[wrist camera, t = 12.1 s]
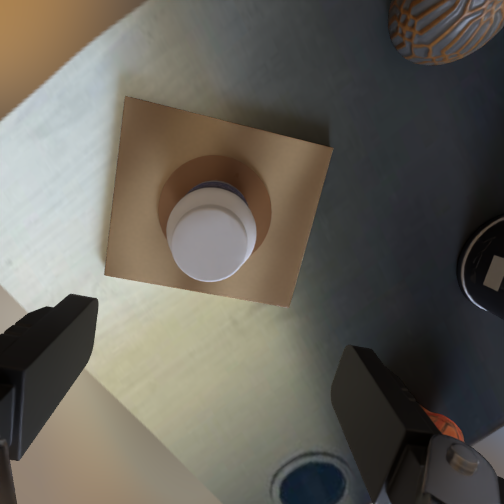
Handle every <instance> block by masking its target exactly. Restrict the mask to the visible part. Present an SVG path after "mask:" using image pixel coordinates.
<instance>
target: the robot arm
mask: <svg viewBox="0 0 504 504" xmlns="http://www.w3.org/2000/svg"><path fill="white" fill-rule="evenodd" d="M457 278H458V283H459V286H460V289H461V291H462V293H463V294H464V296H465V297H466V298H467V299H468V300H469V301H470V302H472V303H473V304H475V305H477V306H478V307H480V308H482V309H484V310H487V311H489V312H491V313H492V314H494V315H496V316H498V317H499V318H501V319H503V320H504V214H503V215H500V216H498V217H495V218H493V219H491V220H489V221H488V222H486V223H485V224H484V225H482V226H481V227H480V228H479V229H478V230H476V231H475V233H474V234H473V235H472V236H471V237H470V238H469V240H468V241H467V243H466V244H465V246H464V248H463V250H462V252H461V255H460V258H459V261H458V267H457ZM97 314H98V299H97V298H92V297H87V296H81V295H76V294H69V295H68V296H67V297H66V298H64V299H63V300H62V301H61V302H60V303H58V304H57V305H56V306H55V307H54V308H53V307H47V306H46V307H44V308H41V309H38V310H36V311H33V312H30V313H28V314H27V315H25V316H24V317H23V318H22V319H20V320H19V321H18V322H16V323H15V325H12V326H11V327H10V328H8V329H7V330H6V331H5V332H4V334H0V504H17V501H16V495H15V488H14V482H13V476H12V470H11V464H10V460H16V461H19V460H20V459H21V458H22V456H23V455H24V453H25V452H26V450H27V449H28V447H29V446H30V445H31V443H32V442H33V440H34V439H35V438H36V436H37V435H38V433H39V432H40V430H41V429H42V427H43V426H44V425H45V423H46V422H47V420H48V419H49V418H50V416H51V415H52V413H53V412H54V410H55V409H56V407H57V406H58V405H59V403H60V402H61V400H62V399H63V397H64V396H65V395H66V393H67V392H68V390H69V389H70V387H71V386H72V384H73V383H74V382H75V380H76V379H77V377H78V376H79V375H80V373H81V372H82V370H83V369H84V367H85V366H86V364H87V363H88V361H89V358H90V356H91V353H92V350H93V345H94V338H95V330H96V322H97ZM331 402H332V406H333V408H334V410H335V413H336V415H337V418H338V420H339V423H340V425H341V427H342V430H343V432H344V435H345V437H346V440H347V442H348V444H349V447H350V449H351V452H352V454H353V456H354V459H355V461H356V464H357V466H358V469H359V471H360V473H361V476H362V478H363V481H364V483H365V486H366V488H367V490H368V493H369V495H370V498H371V500H372V503H373V504H504V479H503V478H501V477H498V476H497V475H496V473H495V471H494V469H493V467H492V466H491V465H490V463H489V462H488V461H487V460H486V459H485V458H484V457H483V456H482V455H481V454H480V453H479V452H477V451H476V450H475V449H474V448H472V447H471V446H469V445H468V444H466V443H464V442H463V441H461V440H459V439H457V438H454V437H452V436H448V435H444V434H442V433H441V432H440V430H439V429H438V428H437V427H436V425H435V424H434V423H433V421H432V420H431V419H430V417H429V416H428V415H427V413H426V412H425V411H424V410H423V408H422V407H421V406H420V404H419V403H418V402H416V399H415V398H414V397H413V395H412V394H411V393H410V392H408V389H407V387H406V386H405V385H404V384H403V382H402V381H401V380H400V378H399V377H398V376H396V375H395V374H394V373H393V372H391V371H390V370H389V369H388V368H387V367H385V366H384V365H383V363H382V362H381V361H380V359H379V358H378V357H377V355H376V354H375V353H374V351H373V350H372V349H369V348H364V347H358V346H353V345H348V346H346V348H345V349H344V351H343V354H342V357H341V360H340V362H339V365H338V368H337V371H336V374H335V377H334V380H333V383H332V386H331Z"/></svg>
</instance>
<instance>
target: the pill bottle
mask: <svg viewBox="0 0 504 504" xmlns="http://www.w3.org/2000/svg"><path fill="white" fill-rule="evenodd" d="M166 234H167V241H168V245H169V247H170V250H171V252H172V255H173V258H174V260H175V262H176V264H177V265H178V267H179V268H180V269H181V270H182V271H183V272H184V273H185V274H187V275H188V276H190V277H192V278H194V279H196V280H199V281H204V282H216V281H220V280H224V279H226V278H228V277H230V276H231V275H233V274H234V273H235V272H236V271H238V270H239V268H240V267H241V266H242V265H243V264H244V263H245V262H246V260H247V259H248V258H249V256H250V255H251V253H252V251H253V249H254V246H255V242H256V224H255V220H254V217H253V215H252V213H251V210H250V208H249V206H248V204H247V202H246V200H245V198H244V196H243V195H242V193H241V192H240V191H239V190H238V189H237V188H235V187H234V186H232V185H231V184H229V183H226V182H223V181H217V180H211V181H205V182H202V183H200V184H198V185H196V186H195V187H193V188H192V189H191V190H190V191H189V192H188V193H187V194H186V195H185V196H184V197H183V198H182V199H181V200H180V201H179V202H178V203H177V204H176V206H175V207H174V208H173V210H172V212H171V214H170V216H169V219H168V222H167V228H166Z"/></svg>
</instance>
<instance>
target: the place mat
mask: <svg viewBox="0 0 504 504" xmlns="http://www.w3.org/2000/svg"><path fill="white" fill-rule="evenodd" d="M332 152H333V148H332V147H328V146H324V145H320V144H316V143H312V142H308V141H304V140H300V139H296V138H292V137H288V136H284V135H280V134H276V133H272V132H268V131H264V130H260V129H256V128H252V127H248V126H244V125H240V124H236V123H232V122H228V121H224V120H220V119H216V118H212V117H208V116H204V115H200V114H196V113H192V112H188V111H184V110H180V109H176V108H172V107H168V106H164V105H160V104H156V103H152V102H148V101H144V100H140V99H136V98H132V97H128V96H125V101H124V110H123V118H122V127H121V136H120V144H119V153H118V161H117V170H116V179H115V187H114V196H113V204H112V213H111V222H110V230H109V239H108V247H107V256H106V265H105V273H104V275H106V276H111V277H117V278H122V279H128V280H134V281H139V282H145V283H151V284H156V285H162V286H168V287H173V288H179V289H185V290H190V291H196V292H202V293H207V294H213V295H219V296H224V297H230V298H236V299H241V300H247V301H253V302H258V303H264V304H270V305H275V306H281V307H286V308H289V306H290V303H291V299H292V295H293V292H294V288H295V285H296V281H297V277H298V274H299V270H300V267H301V263H302V259H303V256H304V252H305V249H306V245H307V241H308V238H309V234H310V231H311V227H312V223H313V220H314V216H315V213H316V209H317V205H318V202H319V198H320V195H321V191H322V188H323V184H324V180H325V177H326V173H327V170H328V166H329V162H330V159H331V155H332ZM211 180H217V181H223V182H226V183H229V184H231V185H232V186H234V187H235V188H237V189H238V190H239V191H240V192H241V193H242V195H243V196H244V198H245V200H246V202H247V204H248V206H249V208H250V210H251V213H252V215H253V217H254V220H255V224H256V242H255V246H254V249H253V251H252V253H251V255H250V256H249V258H248V259H247V260H246V262H245V263H244V264H243V265H242V266H241V267H240V268H239V270H238V271H236V272H235V273H234V274H233V275H231V276H230V277H228V278H226V279H224V280H220V281H216V282H204V281H199V280H196V279H194V278H192V277H190V276H188V275H187V274H185V273H184V272H183V271H182V270H181V269H180V268H179V267H178V265H177V264H176V262H175V260H174V258H173V255H172V252H171V250H170V247H169V245H168V241H167V234H166V228H167V222H168V219H169V216H170V214H171V212H172V210H173V208H174V207H175V206H176V204H177V203H178V202H179V201H180V200H181V199H182V198H183V197H184V196H185V195H186V194H187V193H188V192H189V191H190V190H191V189H192V188H193V187H195V186H196V185H198V184H200V183H202V182H205V181H211Z"/></svg>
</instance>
